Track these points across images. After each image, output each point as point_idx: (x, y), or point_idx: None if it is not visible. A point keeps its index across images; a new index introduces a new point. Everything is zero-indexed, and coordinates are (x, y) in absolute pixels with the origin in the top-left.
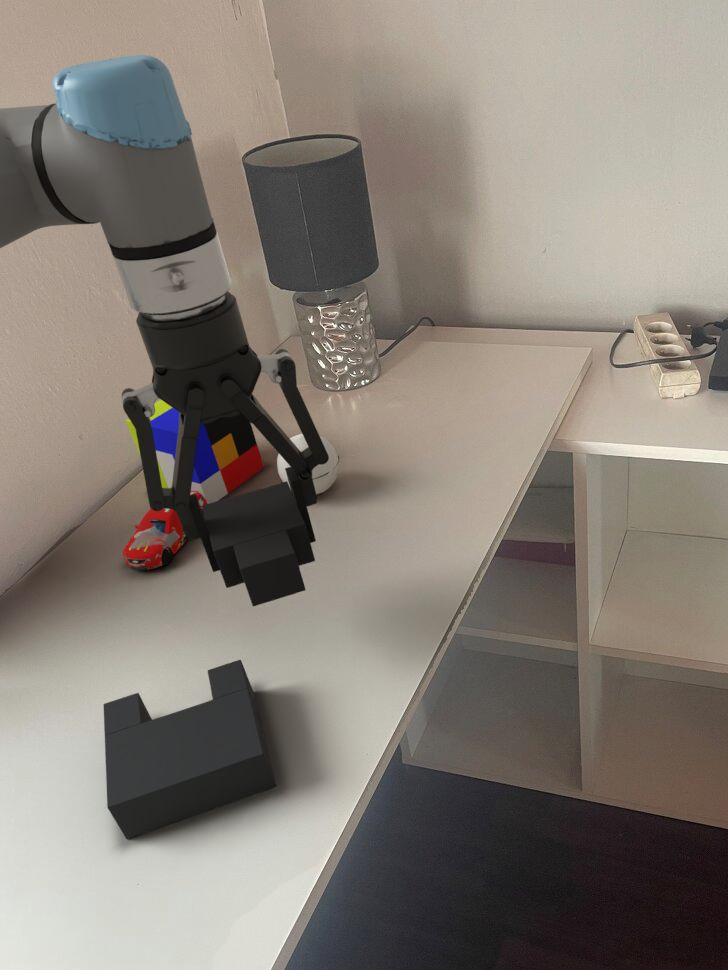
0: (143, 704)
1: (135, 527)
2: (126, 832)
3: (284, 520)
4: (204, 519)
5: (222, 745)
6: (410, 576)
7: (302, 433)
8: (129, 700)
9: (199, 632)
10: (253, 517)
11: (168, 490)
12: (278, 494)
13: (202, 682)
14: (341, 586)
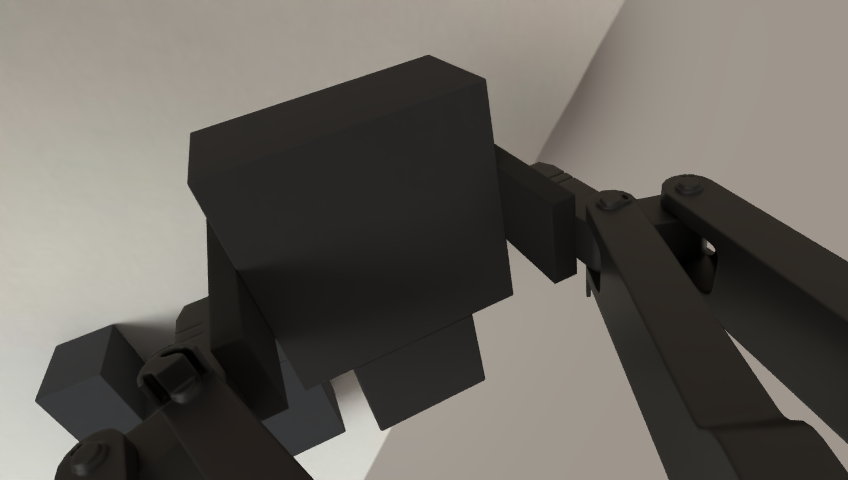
0: (108, 362)
1: None
2: None
3: (471, 283)
4: (254, 313)
5: (291, 431)
6: (521, 12)
7: (733, 318)
8: (91, 389)
9: (93, 100)
10: (393, 267)
11: (176, 465)
12: (458, 157)
13: (167, 241)
14: (399, 7)
